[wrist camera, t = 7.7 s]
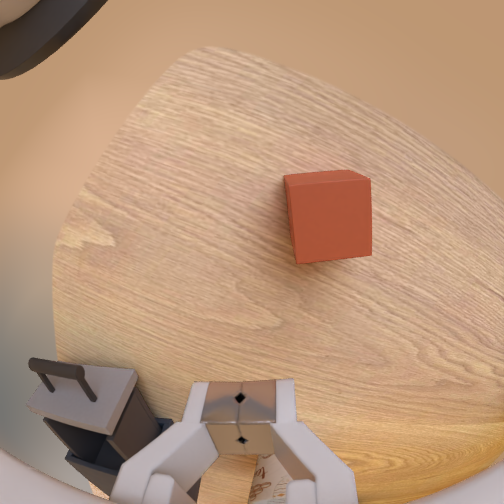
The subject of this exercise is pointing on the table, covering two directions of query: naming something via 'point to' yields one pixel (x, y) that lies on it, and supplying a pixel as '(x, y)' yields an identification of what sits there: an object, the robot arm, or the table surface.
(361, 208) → the block
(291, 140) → the table surface
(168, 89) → the table surface
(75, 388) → the drawer
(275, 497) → the mug
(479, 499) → the robot arm
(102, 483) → the cabinet
